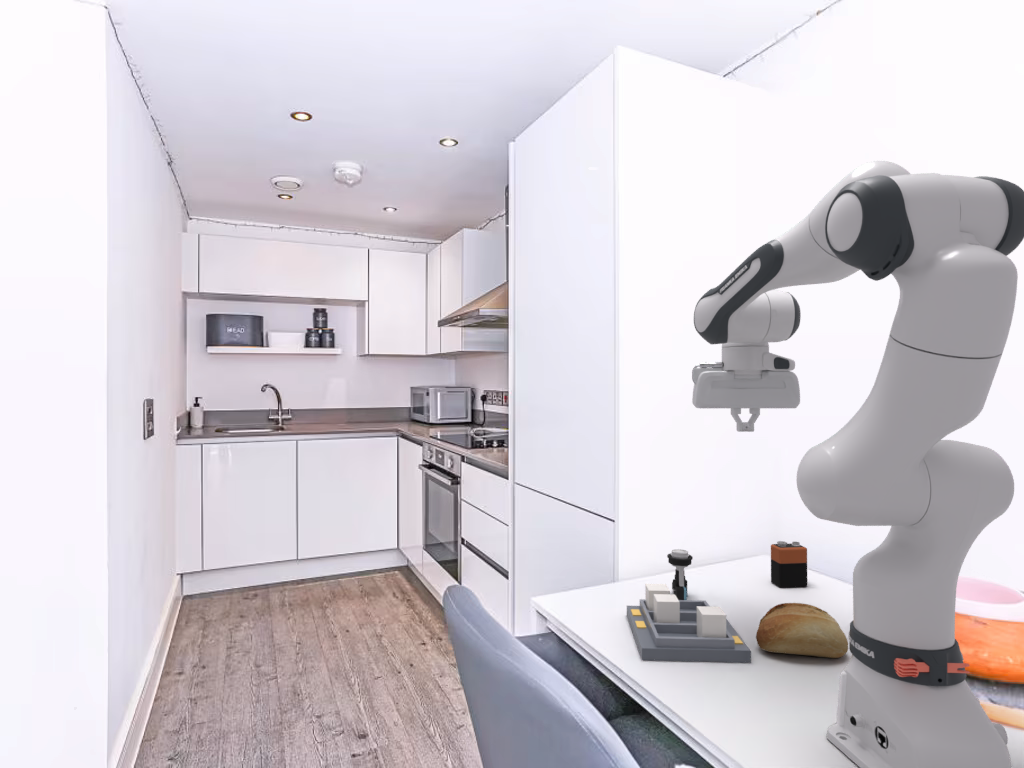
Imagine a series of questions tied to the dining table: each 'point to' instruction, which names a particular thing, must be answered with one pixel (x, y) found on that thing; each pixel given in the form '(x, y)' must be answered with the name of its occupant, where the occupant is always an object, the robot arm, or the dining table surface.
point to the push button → (679, 572)
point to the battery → (788, 565)
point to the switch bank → (683, 637)
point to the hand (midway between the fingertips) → (745, 431)
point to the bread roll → (801, 631)
